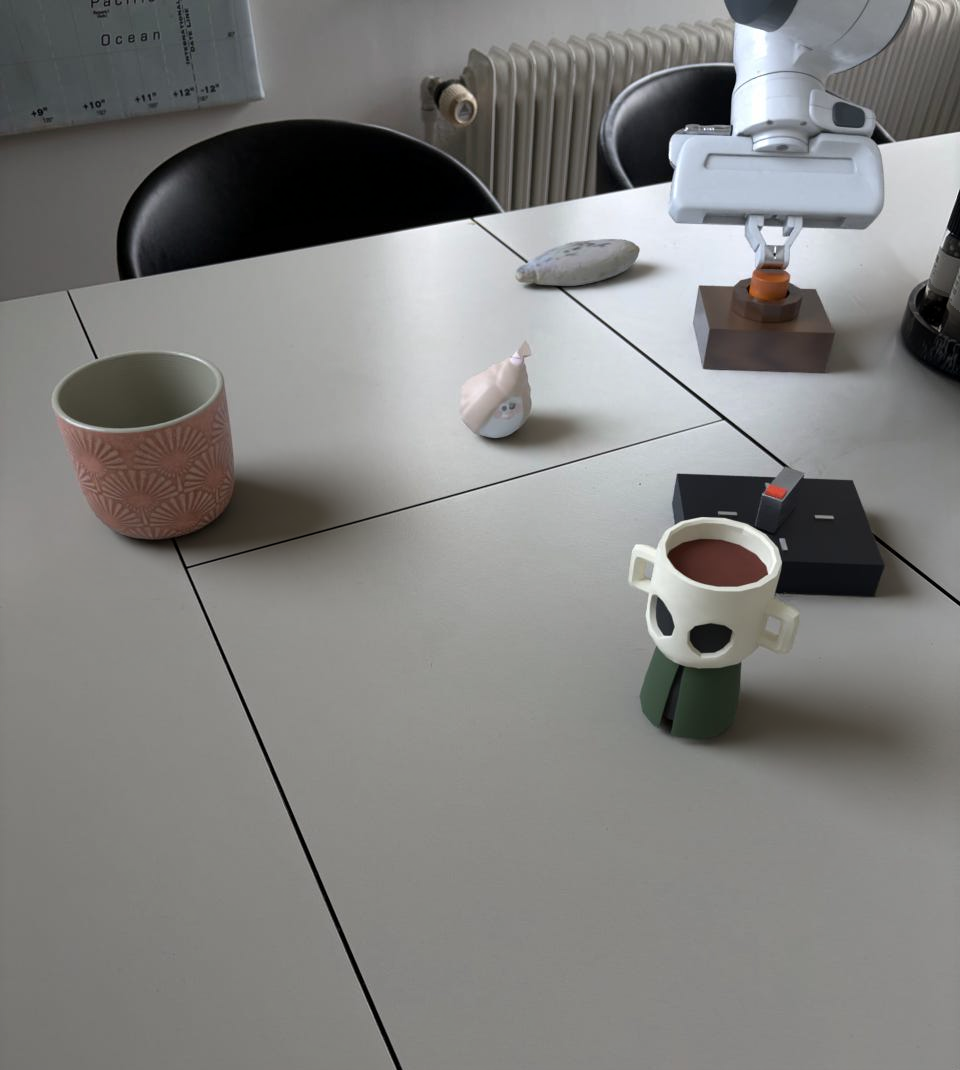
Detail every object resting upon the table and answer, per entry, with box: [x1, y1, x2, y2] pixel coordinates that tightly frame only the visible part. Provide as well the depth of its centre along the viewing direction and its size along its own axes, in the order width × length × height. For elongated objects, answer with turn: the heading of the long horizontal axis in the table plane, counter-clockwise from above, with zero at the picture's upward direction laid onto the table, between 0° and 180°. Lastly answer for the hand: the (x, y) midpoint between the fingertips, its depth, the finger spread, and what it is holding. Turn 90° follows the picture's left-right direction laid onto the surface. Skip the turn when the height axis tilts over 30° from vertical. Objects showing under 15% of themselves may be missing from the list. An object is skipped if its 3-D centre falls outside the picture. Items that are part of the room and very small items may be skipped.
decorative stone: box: [514, 238, 641, 287], centre depth 117 cm, size 6×16×3 cm, turn 116°
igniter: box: [692, 277, 836, 374], centre depth 104 cm, size 12×10×6 cm
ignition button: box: [749, 268, 791, 300], centre depth 102 cm, size 4×4×2 cm
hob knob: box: [755, 466, 805, 533], centre depth 78 cm, size 4×2×3 cm, turn 146°
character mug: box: [627, 517, 801, 740], centre depth 64 cm, size 11×7×13 cm, turn 53°
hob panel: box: [671, 472, 886, 598], centre depth 80 cm, size 14×11×3 cm
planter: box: [51, 348, 235, 540], centre depth 80 cm, size 12×12×11 cm
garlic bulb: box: [458, 339, 533, 439], centre depth 91 cm, size 7×6×8 cm
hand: (771, 267), depth 101 cm, fingers closed
